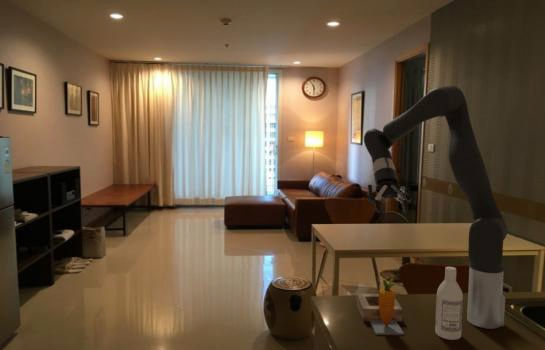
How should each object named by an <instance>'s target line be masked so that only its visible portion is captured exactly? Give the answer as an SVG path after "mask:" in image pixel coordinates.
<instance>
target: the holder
mask: <svg viewBox="0 0 545 350" xmlns="http://www.w3.org/2000/svg"><path fill="white" fill-rule="evenodd" d="M356 307H357V309H358V312H359V314H360V316H361V320H362V321H363V322H370V320H382V319H381V316H380V310H379V293H356ZM391 320H396V321H397V323H398V322H403V308H402V305H400V303H399V302H398V300H397V299H396V298H395V304H394V311H393V315H392V319H391Z"/></svg>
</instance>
